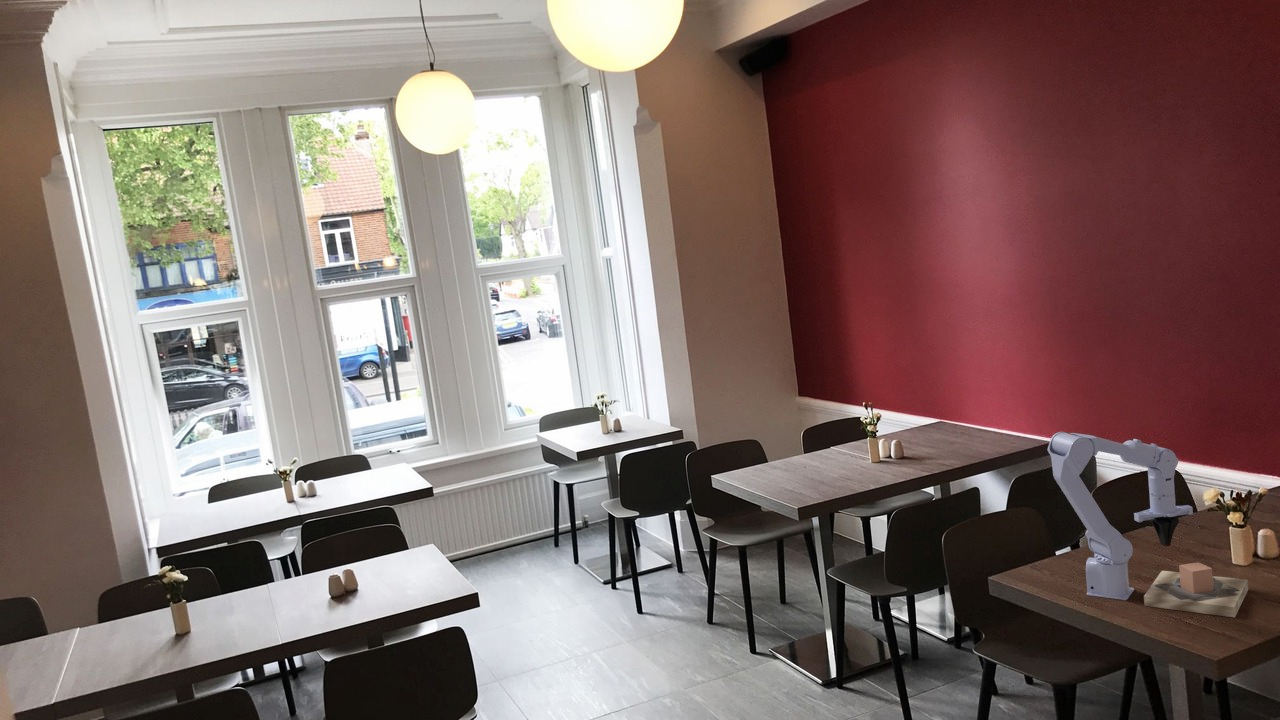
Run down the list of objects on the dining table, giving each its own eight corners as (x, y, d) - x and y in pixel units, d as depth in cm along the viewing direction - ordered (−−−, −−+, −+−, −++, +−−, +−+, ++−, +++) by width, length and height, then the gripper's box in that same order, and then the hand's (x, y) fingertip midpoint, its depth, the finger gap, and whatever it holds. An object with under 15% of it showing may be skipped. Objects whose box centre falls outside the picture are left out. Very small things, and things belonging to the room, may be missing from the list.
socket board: (1144, 605, 234) (1143, 596, 233) (1162, 579, 248) (1161, 570, 248) (1234, 617, 221) (1234, 607, 221) (1248, 589, 235) (1247, 579, 235)
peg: (1194, 603, 232) (1192, 571, 231) (1181, 596, 237) (1179, 565, 236) (1214, 600, 232) (1212, 568, 231) (1200, 593, 237) (1198, 562, 236)
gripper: (1144, 501, 239) (1148, 553, 241) (1199, 493, 240) (1202, 545, 242) (1127, 494, 246) (1131, 545, 248) (1181, 486, 247) (1184, 537, 249)
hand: (1165, 544), depth 245 cm, fingers closed
